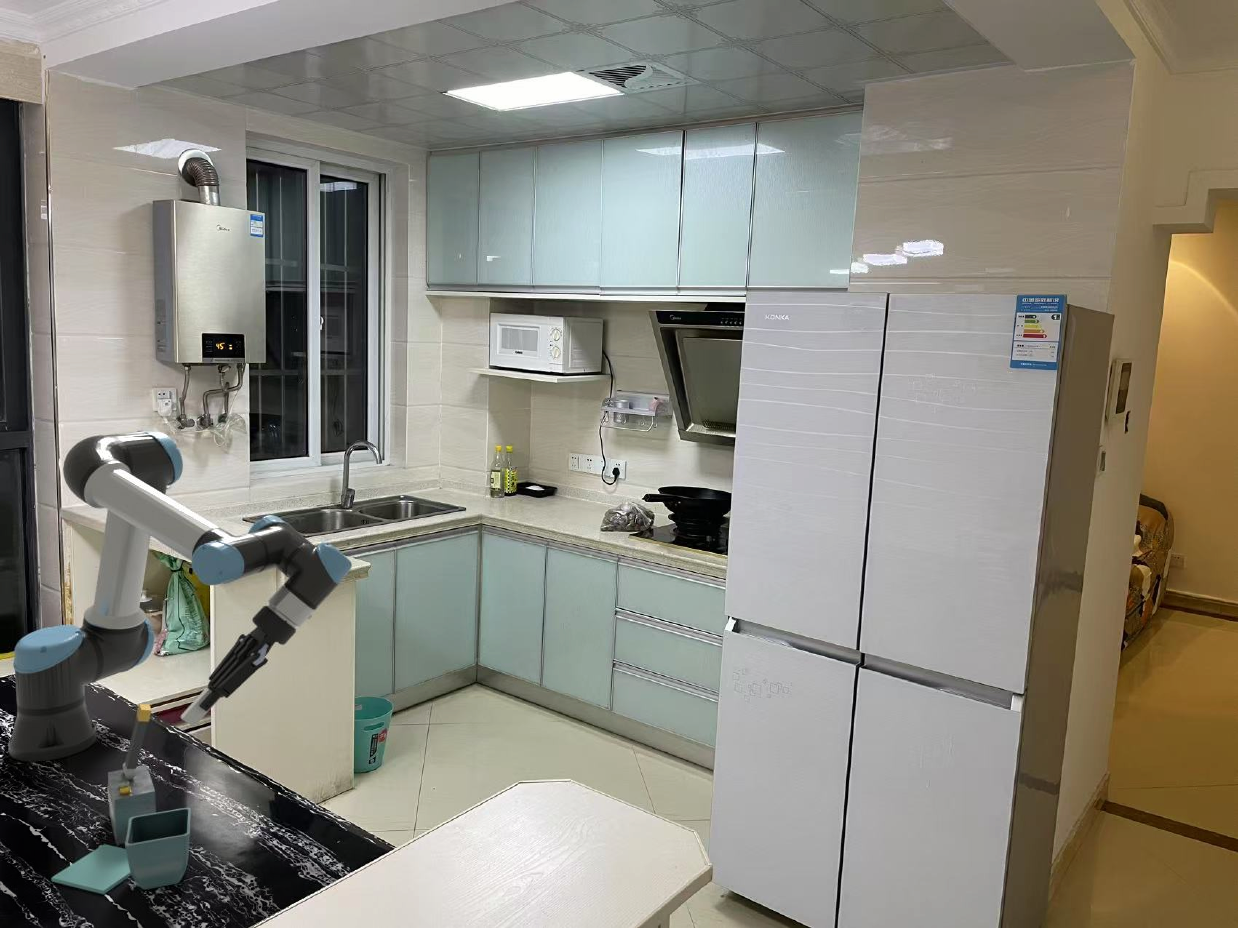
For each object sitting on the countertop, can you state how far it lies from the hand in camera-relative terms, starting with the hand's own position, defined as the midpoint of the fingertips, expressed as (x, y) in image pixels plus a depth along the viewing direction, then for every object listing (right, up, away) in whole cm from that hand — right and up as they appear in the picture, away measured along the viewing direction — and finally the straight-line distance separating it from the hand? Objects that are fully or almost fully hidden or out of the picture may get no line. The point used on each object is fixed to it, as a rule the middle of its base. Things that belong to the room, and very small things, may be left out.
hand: (187, 721), depth 163 cm
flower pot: (+5, -19, -19) cm, 28 cm away
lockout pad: (-5, -18, -18) cm, 26 cm away
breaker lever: (-8, -7, -4) cm, 12 cm away
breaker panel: (-7, -17, -5) cm, 19 cm away
